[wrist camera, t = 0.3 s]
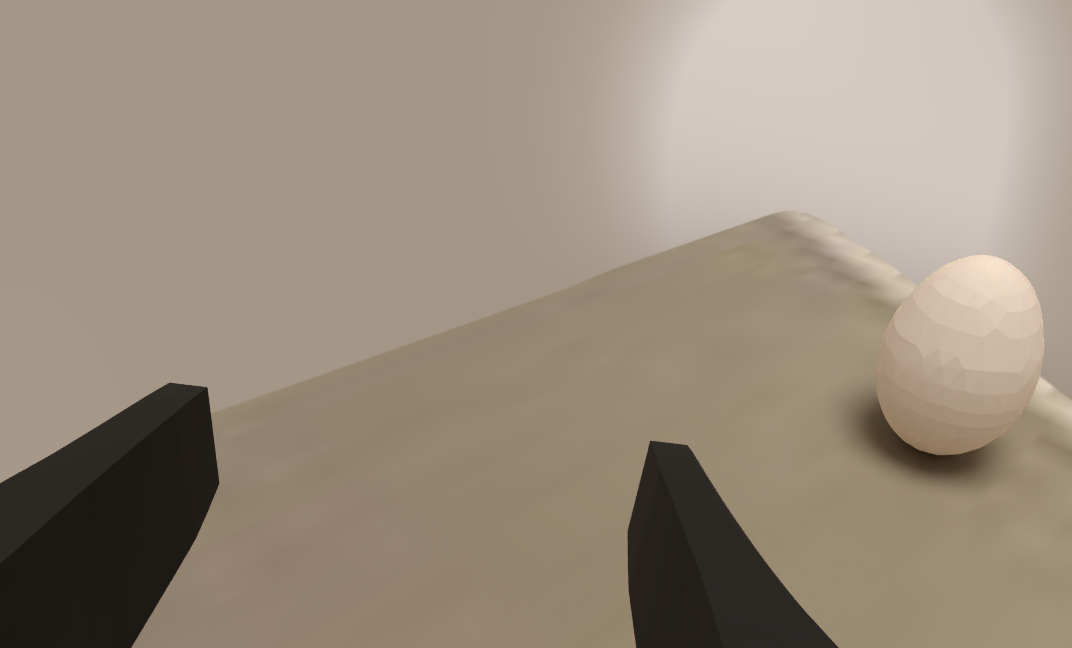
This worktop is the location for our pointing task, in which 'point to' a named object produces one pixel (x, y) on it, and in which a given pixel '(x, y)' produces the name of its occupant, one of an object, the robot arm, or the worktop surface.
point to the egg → (961, 356)
